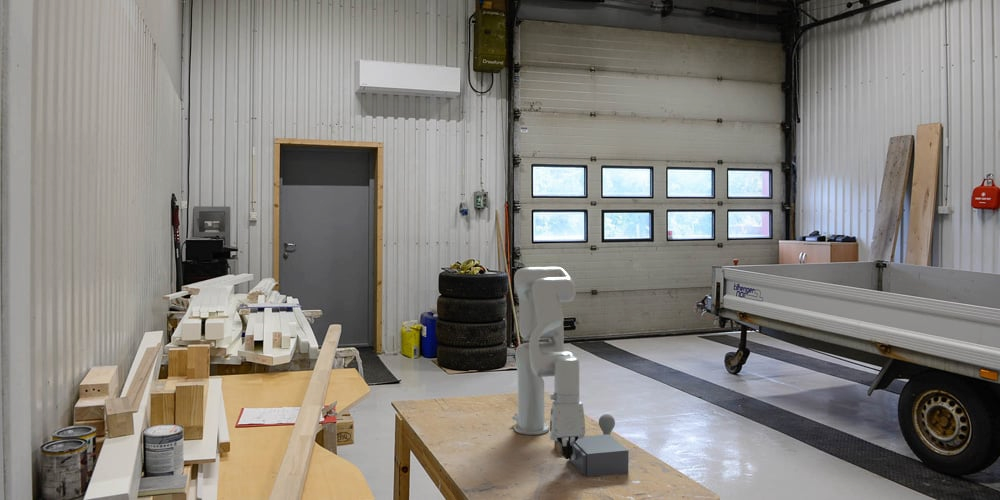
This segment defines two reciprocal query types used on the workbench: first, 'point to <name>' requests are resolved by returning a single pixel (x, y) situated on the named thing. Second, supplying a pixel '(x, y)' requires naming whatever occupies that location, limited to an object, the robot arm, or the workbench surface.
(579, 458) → the grey drawer
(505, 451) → the workbench surface
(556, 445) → the brown block
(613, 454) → the box
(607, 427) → the light bulb
